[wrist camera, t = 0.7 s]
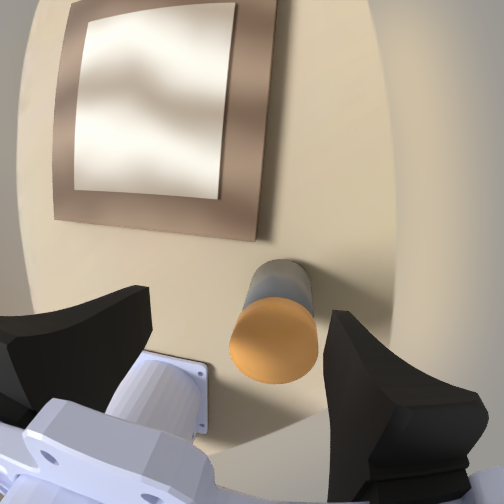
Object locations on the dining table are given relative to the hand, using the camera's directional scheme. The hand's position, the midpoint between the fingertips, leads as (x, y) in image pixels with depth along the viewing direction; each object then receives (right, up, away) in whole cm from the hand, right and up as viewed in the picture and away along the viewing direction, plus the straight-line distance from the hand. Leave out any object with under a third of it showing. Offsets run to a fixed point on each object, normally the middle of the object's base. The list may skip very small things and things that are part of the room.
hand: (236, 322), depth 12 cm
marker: (+3, +1, +10) cm, 10 cm away
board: (-6, +13, +7) cm, 16 cm away
